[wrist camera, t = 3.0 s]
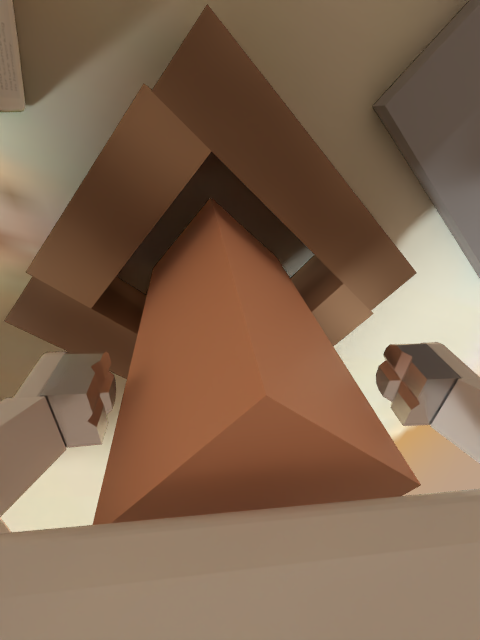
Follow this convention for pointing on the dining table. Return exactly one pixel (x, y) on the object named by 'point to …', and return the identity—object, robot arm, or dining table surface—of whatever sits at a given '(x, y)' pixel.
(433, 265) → the dining table surface
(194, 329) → the terracotta peg
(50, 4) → the dining table surface
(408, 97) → the slate mat
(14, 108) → the syrup box
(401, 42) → the dining table surface
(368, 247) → the socket holder
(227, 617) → the robot arm
